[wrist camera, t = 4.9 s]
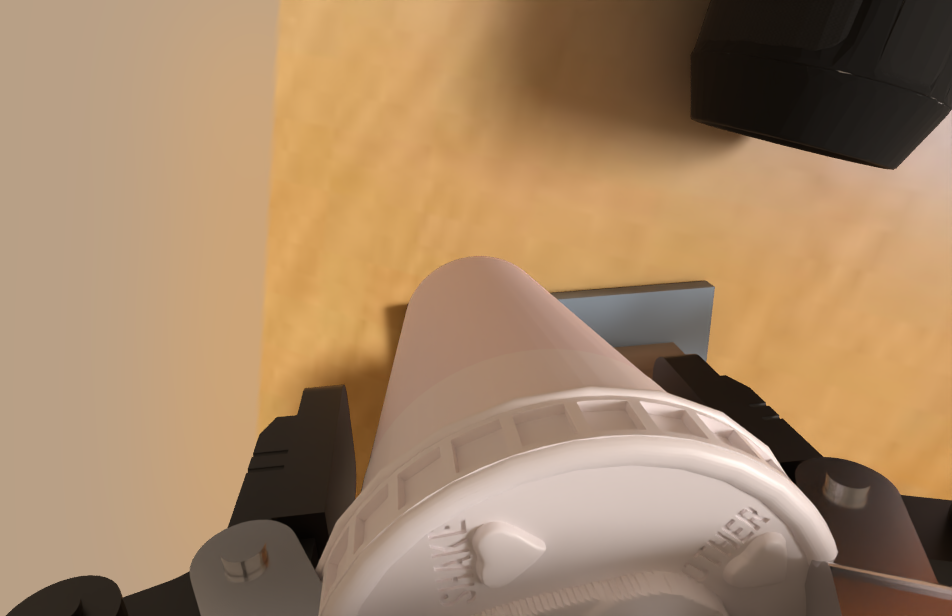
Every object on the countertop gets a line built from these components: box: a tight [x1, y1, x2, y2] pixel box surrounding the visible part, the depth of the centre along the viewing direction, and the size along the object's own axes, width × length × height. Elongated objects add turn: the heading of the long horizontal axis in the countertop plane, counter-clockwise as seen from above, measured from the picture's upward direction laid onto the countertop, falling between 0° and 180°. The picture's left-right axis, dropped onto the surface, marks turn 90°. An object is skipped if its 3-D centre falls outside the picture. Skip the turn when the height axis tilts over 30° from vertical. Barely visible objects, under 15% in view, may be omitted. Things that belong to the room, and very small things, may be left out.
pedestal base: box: [550, 281, 715, 379], centre depth 32 cm, size 18×16×8 cm
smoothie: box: [315, 256, 838, 616], centre depth 9 cm, size 6×6×14 cm
